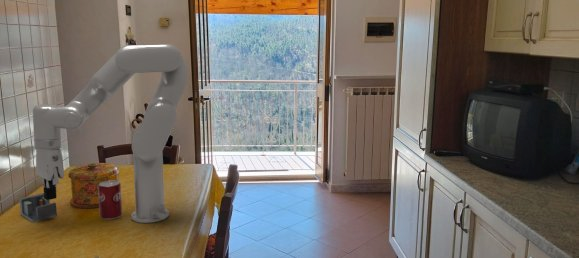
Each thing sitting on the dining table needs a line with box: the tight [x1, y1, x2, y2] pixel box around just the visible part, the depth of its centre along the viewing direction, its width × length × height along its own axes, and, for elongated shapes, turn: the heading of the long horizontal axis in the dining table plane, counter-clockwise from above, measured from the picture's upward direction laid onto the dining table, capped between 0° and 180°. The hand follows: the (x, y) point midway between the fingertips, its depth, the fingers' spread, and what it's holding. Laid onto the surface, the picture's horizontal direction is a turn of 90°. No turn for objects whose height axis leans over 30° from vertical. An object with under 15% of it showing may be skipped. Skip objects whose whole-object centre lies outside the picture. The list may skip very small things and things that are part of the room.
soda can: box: [97, 180, 123, 221], centre depth 157 cm, size 7×7×12 cm
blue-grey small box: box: [36, 199, 58, 219], centre depth 154 cm, size 5×6×5 cm
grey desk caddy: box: [18, 192, 58, 223], centre depth 157 cm, size 10×8×6 cm
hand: (50, 198), depth 148 cm, fingers closed
